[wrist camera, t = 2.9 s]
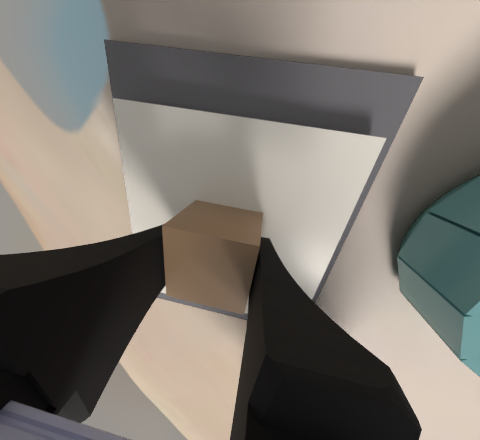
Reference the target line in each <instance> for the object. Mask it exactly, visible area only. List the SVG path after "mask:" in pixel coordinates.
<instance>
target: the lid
mask: <svg viewBox="0 0 480 440" xmlns="http://www.w3.org/2000/svg"><path fill="white" fill-rule="evenodd" d="M112 99H113V106H114V113H115V119H116V126H117V133H118V140H119V146H120V153H121V160H122V167H123V173H124V180H125V187H126V194H127V200H128V207H129V214H130V221H131V228H132V234H134V233H138V232H141V231H144V230H148V229H151V228H154V227H157V226H160V225H163V224H164V225H163V226H162V234H163V250H164V267H165V283H166V286H165V287H164V288H163V290H162V291H161V293H165V294H166V296H169V297H173V298H177V299H181V300H185V301H190V302H194V303H198V304H202V305H206V306H210V307H214V308H218V309H222V310H226V311H230V312H234V313H238V314H242V315H244V313H246V314H248V300H249V292H250V287H251V283H252V279H253V274H254V270H255V266H256V261H257V257H258V252H259V248H260V240H261V237H265V238H269V239H270V240H271V242H272V244H273V246H274V248H275V250H276V252H277V254H278V256H279V258H280V259H281V261H282V263H283V264H284V266H285V267H286V269H287V270H288V272H289V273H290V275H291V276H292V277H293V279H294V280H295V281H296V283H297V284H298V285H299V286H300V287H301V289H302V290H303V291H304V292H305V293H306V294H307V295H308V296H309V298H310V299H311V300H312V299H313V297H314V295H315V292H316V290H317V288H318V286H319V284H320V282H321V279H322V277H323V275H324V273H325V271H326V269H327V266H328V264H329V262H330V260H331V258H332V256H333V253H334V251H335V249H336V247H337V245H338V242H339V240H340V238H341V236H342V234H343V232H344V229H345V227H346V225H347V223H348V221H349V219H350V216H351V214H352V212H353V210H354V208H355V206H356V203H357V201H358V199H359V197H360V195H361V193H362V190H363V188H364V186H365V184H366V182H367V180H368V177H369V175H370V173H371V171H372V169H373V167H374V164H375V162H376V160H377V158H378V156H379V154H380V151H381V149H382V147H383V145H384V143H385V141H386V138H382V137H375V136H368V135H362V134H355V133H348V132H341V131H334V130H327V129H321V128H314V127H307V126H300V125H293V124H287V123H280V122H273V121H266V120H259V119H253V118H246V117H239V116H232V115H225V114H219V113H212V112H205V111H198V110H191V109H184V108H178V107H171V106H164V105H157V104H150V103H144V102H137V101H130V100H123V99H116V98H112Z"/></svg>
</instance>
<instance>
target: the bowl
mask: <svg viewBox="0 0 480 440" xmlns="http://www.w3.org/2000/svg"><path fill="white" fill-rule="evenodd" d="M398 255H399V257H397V261H398V273H399V286H400V291H401V293H402V294H403V295H404V296H405V298H406V299H407V300H408V301H409V302H410V303H411V304H412V306H413V307H414V308H415V309H416V310H417V311H418V312H419V314H420V315H421V316H422V317H423V318H424V319H425V320H426V322H427V323H428V324H429V325H430V326H431V327H432V329H433V330H434V331H435V332H436V333H437V334H438V335H439V337H440V338H441V339H442V340H443V341H444V342H445V343H446V345H447V346H448V347H449V348H450V349H451V350H452V351H453V353H454V354H455V355H456V356H457V357H458V358H459V360H460V361H461V362H463V363H464V364H465V365H466V366H467V367H469V368H470V369H471V370H472V371H473V372H474V373H476V374H477V375H478V376H479V377H480V175H479V176H476V177H474V178H472V179H470V180H468V181H466V182H464V183H462V184H461V185H459V186H457V187H456V188H454V189H452V190H451V191H449V192H448V193H446V194H445V195H443V196H442V197H441V198H439V199H438V200H437V201H435V202H434V203H433V204H432V205H431V206H430V207H428V208H427V209H426V210H425V211H424V212H423V213H422V214H421V215H420V216H419V217H418V218H417V220H416V221H415V222H414V223H413V225H412V226H411V227H410V229H409V230H408V232H407V234H406V236H405V237H404V239H403V242H402V245H401V247H400V252H399V254H398Z"/></svg>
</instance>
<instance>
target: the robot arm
mask: <svg viewBox="0 0 480 440" xmlns="http://www.w3.org/2000/svg"><path fill="white" fill-rule="evenodd" d="M163 225H164V224H163ZM163 225H160V226H157V227H154V228H151V229H148V230H144V231H141V232H138V233H134V234H131V235H128V236H124V237H120V238H116V239H112V240H108V241H103V242H99V243H94V244H88V245H82V246H76V247H70V248H63V249H56V250H48V251H39V252H30V253H20V254H7V255H0V440H130V439H127V438H124V437H121V436H118V435H115V434H112V433H109V432H106V431H103V430H100V429H97V428H94V427H91V426H88V425H84V424H82V423H81V422H83V421H85V420H86V419H87V418H88V417H90V416H91V414H92V412H93V410H94V408H95V406H96V404H97V401H98V400H99V398H100V396H101V394H102V392H103V390H104V388H105V386H106V384H107V382H108V380H109V378H110V377H111V375H112V373H113V371H114V369H115V367H116V365H117V364H118V362H119V360H120V358H121V356H122V354H123V353H124V351H125V349H126V347H127V345H128V344H129V342H130V340H131V338H132V337H133V335H134V333H135V332H136V330H137V328H138V326H139V325H140V323H141V321H142V320H143V318H144V316H145V315H146V313H147V311H148V310H149V308H150V307H151V305H152V303H153V302H154V301H155V299H156V298H157V296H158V295H159V294H160V292H161V291H162V290H163V288H164V287H165V286H166V283H165V267H164V250H163V234H162V226H163ZM421 430H422V429H421V426H420V424H419V421H418V419H417V417H416V415H415V413H414V411H413V409H412V408H411V406H410V404H409V402H408V400H407V398H406V396H405V394H404V392H403V391H402V389H401V387H400V385H399V383H398V381H397V380H396V378H395V376H394V374H393V373H392V371H391V369H390V367H388V366H387V365H386V364H385V363H383V362H382V361H381V360H380V359H378V358H377V357H376V356H375V355H373V354H372V353H371V352H370V351H368V350H367V349H366V348H365V347H363V346H362V345H361V344H360V343H358V342H357V341H356V340H355V339H353V338H352V337H351V336H350V335H349V334H347V333H346V332H345V331H344V330H343V329H342V328H341V327H339V326H338V325H337V324H336V323H335V322H334V321H333V320H332V319H331V318H330V317H328V316H327V315H326V314H325V313H324V312H323V311H322V310H321V309H320V308H319V307H318V306H317V305H316V304H315V303H314V302H313V301H312V300H311V299H310V298H309V296H308V295H307V294H306V293H305V292H304V291H303V290H302V289H301V287H300V286H299V285H298V284H297V283H296V281H295V280H294V279H293V277H292V276H291V275H290V273H289V272H288V270H287V269H286V267H285V266H284V264H283V263H282V261H281V259H280V258H279V256H278V254H277V252H276V250H275V248H274V246H273V244H272V242H271V240H270V239H269V238H265V237H261V240H260V248H259V252H258V257H257V261H256V266H255V270H254V274H253V279H252V283H251V287H250V292H249V300H248V318H247V329H246V336H245V343H244V350H243V357H242V364H241V371H240V378H239V384H238V391H237V397H236V404H235V411H234V417H233V423H232V430H231V436H230V440H419V437H420V434H421Z"/></svg>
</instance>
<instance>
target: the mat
mask: <svg viewBox="0 0 480 440" xmlns="http://www.w3.org/2000/svg"><path fill="white" fill-rule="evenodd" d="M104 42H105V49H106V56H107V63H108V69H109V76H110V83H111V90H112V96H113V98H116V99H123V100H130V101H137V102H144V103H150V104H157V105H164V106H171V107H178V108H184V109H191V110H198V111H205V112H212V113H219V114H225V115H232V116H239V117H246V118H253V119H259V120H266V121H273V122H280V123H287V124H293V125H300V126H307V127H314V128H321V129H327V130H334V131H341V132H348V133H355V134H362V135H368V136H375V137H382V138H386V141H385V143H384V145H383V147H382V149H381V151H380V154H379V156H378V158H377V160H376V162H375V164H374V167H373V169H372V171H371V173H370V175H369V177H368V180H367V182H366V184H365V186H364V188H363V190H362V193H361V195H360V197H359V199H358V201H357V203H356V206H355V208H354V210H353V212H352V214H351V216H350V219H349V221H348V223H347V225H346V227H345V229H344V232H343V234H342V236H341V238H340V240H339V242H338V245H337V247H336V249H335V251H334V253H333V256H332V258H331V260H330V262H329V264H328V266H327V269H326V271H325V273H324V275H323V277H322V279H321V282H320V284H319V286H318V288H317V290H316V292H315V295H314V297H313V299H312V301H313V302H314V303H315V302H316V300H317V298H318V296H319V294H320V292H321V290H322V288H323V286H324V283H325V281H326V279H327V277H328V275H329V273H330V271H331V269H332V267H333V265H334V263H335V261H336V259H337V256H338V254H339V252H340V250H341V248H342V246H343V244H344V242H345V240H346V238H347V236H348V234H349V231H350V229H351V227H352V225H353V223H354V221H355V219H356V217H357V215H358V213H359V211H360V209H361V207H362V204H363V202H364V200H365V198H366V196H367V194H368V192H369V190H370V188H371V186H372V184H373V182H374V180H375V177H376V175H377V173H378V171H379V169H380V167H381V165H382V163H383V161H384V159H385V157H386V155H387V153H388V150H389V148H390V146H391V144H392V142H393V140H394V138H395V136H396V134H397V132H398V130H399V128H400V125H401V123H402V121H403V119H404V117H405V115H406V113H407V111H408V109H409V107H410V105H411V103H412V101H413V98H414V96H415V94H416V92H417V90H418V88H419V86H420V84H421V82H422V80H423V78H424V77H419V76H411V75H402V74H394V73H385V72H377V71H368V70H360V69H351V68H343V67H334V66H326V65H317V64H308V63H300V62H291V61H283V60H274V59H266V58H257V57H249V56H240V55H232V54H223V53H215V52H206V51H198V50H189V49H181V48H172V47H164V46H155V45H147V44H138V43H130V42H121V41H112V40H104ZM157 298H160V299H164V300H169V301H173V302H177V303H181V304H185V305H189V306H193V307H197V308H201V309H205V310H209V311H213V312H217V313H221V314H225V315H229V316H233V317H237V318H241V319H245V320H247V318H248V314H246V313H244V315H242V314H238V313H234V312H230V311H226V310H222V309H218V308H214V307H210V306H206V305H202V304H198V303H194V302H190V301H185V300H181V299H177V298H173V297H169V296H166V294H165V293H161V292H160V294H159V295H158V296H157Z"/></svg>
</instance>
